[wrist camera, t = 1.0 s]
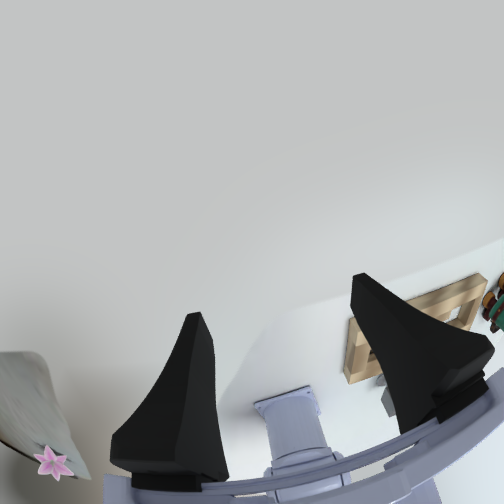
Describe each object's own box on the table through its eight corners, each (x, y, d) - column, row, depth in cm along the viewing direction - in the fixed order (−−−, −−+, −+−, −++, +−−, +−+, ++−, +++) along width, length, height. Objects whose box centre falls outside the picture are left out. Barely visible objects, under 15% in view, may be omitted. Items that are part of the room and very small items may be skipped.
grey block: (442, 346, 34) (463, 374, 28) (436, 359, 36) (455, 387, 30) (378, 374, 34) (396, 409, 28) (374, 387, 36) (390, 420, 30)
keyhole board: (478, 272, 28) (487, 280, 26) (460, 324, 33) (468, 332, 31) (349, 318, 28) (357, 332, 26) (343, 372, 32) (349, 384, 30)
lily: (80, 461, 49) (77, 481, 40) (55, 467, 45) (51, 486, 36) (55, 435, 47) (49, 454, 38) (31, 441, 43) (24, 459, 34)
